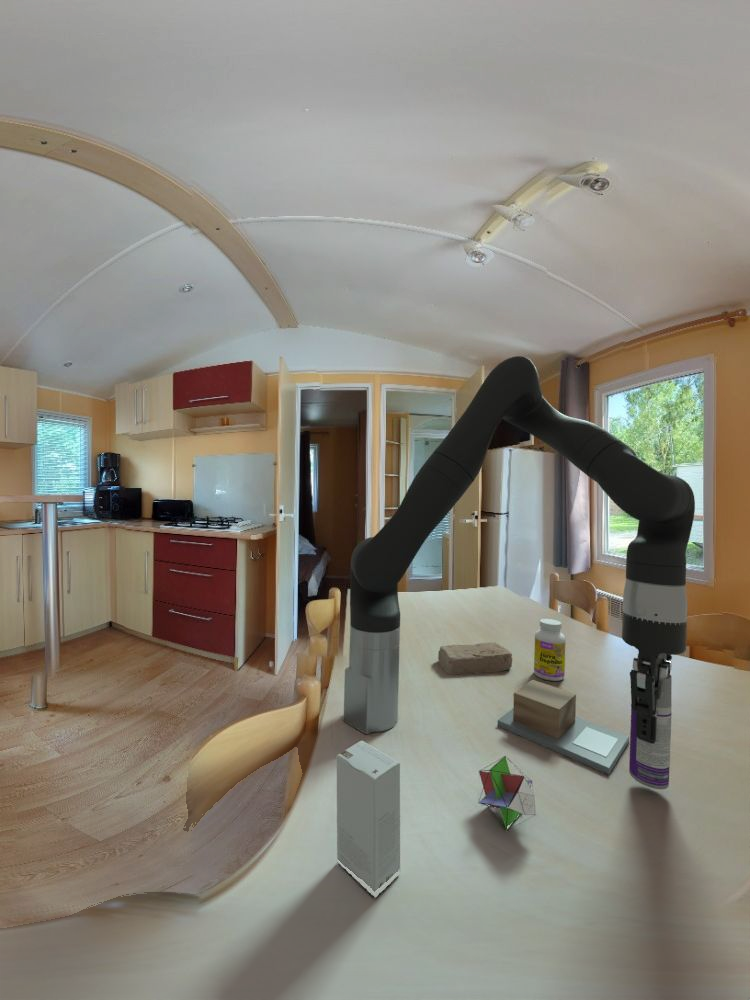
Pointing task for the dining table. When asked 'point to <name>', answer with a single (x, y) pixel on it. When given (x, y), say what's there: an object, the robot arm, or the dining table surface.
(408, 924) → the dining table surface
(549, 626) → the supplement bottle
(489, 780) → the geometric puzzle
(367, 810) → the skincare box
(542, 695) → the walnut plinth
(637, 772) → the container
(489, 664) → the brick
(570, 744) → the slate board
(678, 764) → the dining table surface
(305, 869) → the dining table surface
